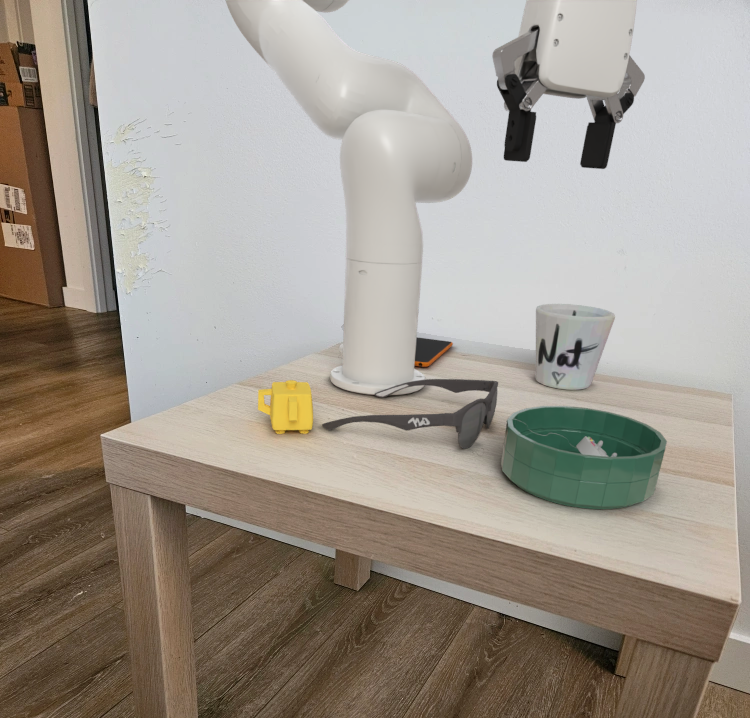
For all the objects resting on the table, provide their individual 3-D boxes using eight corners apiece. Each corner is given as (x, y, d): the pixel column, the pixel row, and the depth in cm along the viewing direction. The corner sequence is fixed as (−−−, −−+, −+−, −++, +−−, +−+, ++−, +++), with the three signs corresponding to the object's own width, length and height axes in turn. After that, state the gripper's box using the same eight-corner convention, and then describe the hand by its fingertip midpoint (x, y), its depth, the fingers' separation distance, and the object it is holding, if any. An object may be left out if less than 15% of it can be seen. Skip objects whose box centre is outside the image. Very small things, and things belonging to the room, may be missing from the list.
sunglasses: (467, 462, 66) (467, 413, 64) (317, 447, 72) (313, 402, 71) (509, 416, 79) (510, 374, 77) (380, 407, 86) (378, 368, 84)
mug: (518, 385, 92) (529, 311, 88) (537, 363, 105) (548, 296, 101) (596, 397, 89) (612, 321, 85) (607, 372, 101) (621, 304, 97)
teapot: (258, 415, 76) (256, 370, 73) (309, 415, 77) (310, 370, 74) (258, 441, 69) (257, 391, 66) (315, 440, 69) (316, 391, 67)
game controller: (629, 491, 61) (647, 467, 60) (529, 449, 56) (546, 422, 55) (599, 463, 65) (614, 440, 64) (504, 422, 61) (519, 397, 60)
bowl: (471, 463, 66) (477, 414, 64) (576, 444, 72) (585, 399, 70) (572, 525, 55) (584, 468, 53) (686, 496, 61) (700, 445, 59)
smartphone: (453, 346, 112) (453, 340, 112) (428, 369, 98) (428, 363, 97) (409, 340, 114) (410, 335, 114) (378, 362, 100) (379, 356, 99)
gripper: (634, -31, 64) (594, 168, 72) (486, -71, 57) (460, 156, 65) (699, -46, 59) (648, 172, 66) (544, -93, 51) (507, 159, 59)
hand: (555, 164), depth 65 cm, fingers open, 9 cm apart
